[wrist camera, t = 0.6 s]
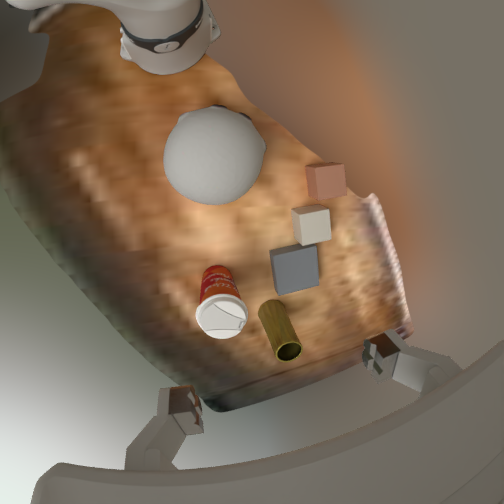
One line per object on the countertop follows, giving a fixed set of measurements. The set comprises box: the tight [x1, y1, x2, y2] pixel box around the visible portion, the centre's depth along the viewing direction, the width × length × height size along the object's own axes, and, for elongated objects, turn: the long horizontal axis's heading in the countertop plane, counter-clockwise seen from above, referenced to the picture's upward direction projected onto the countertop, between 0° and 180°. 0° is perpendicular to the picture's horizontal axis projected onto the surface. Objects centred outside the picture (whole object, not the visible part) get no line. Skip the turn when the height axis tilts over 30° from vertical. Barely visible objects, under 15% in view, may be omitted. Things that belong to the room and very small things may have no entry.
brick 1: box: [305, 162, 347, 200], centre depth 50 cm, size 6×6×5 cm
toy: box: [163, 105, 267, 205], centre depth 40 cm, size 15×15×15 cm
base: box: [269, 243, 319, 296], centre depth 56 cm, size 9×9×3 cm
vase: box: [258, 300, 303, 362], centre depth 54 cm, size 6×6×14 cm
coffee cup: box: [196, 265, 248, 339], centre depth 49 cm, size 8×8×15 cm
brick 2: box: [291, 204, 331, 246], centre depth 52 cm, size 6×6×5 cm
